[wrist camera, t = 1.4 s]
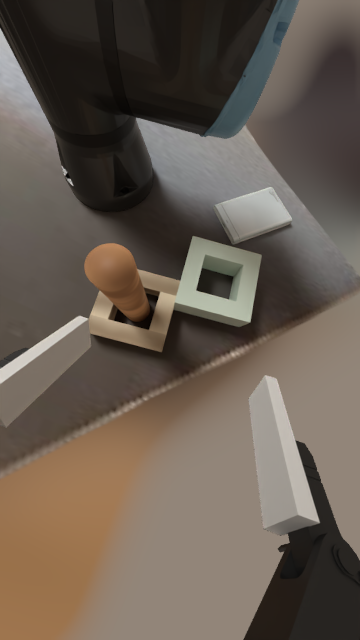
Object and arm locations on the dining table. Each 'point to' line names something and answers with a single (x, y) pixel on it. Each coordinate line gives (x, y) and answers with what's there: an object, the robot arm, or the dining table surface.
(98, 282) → the peg
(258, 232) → the hard drive
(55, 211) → the dining table surface
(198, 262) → the socket block
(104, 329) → the holder
